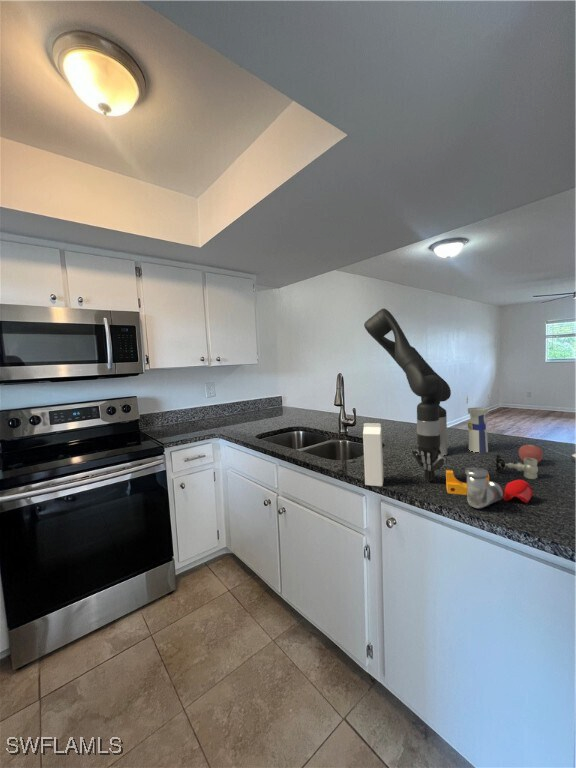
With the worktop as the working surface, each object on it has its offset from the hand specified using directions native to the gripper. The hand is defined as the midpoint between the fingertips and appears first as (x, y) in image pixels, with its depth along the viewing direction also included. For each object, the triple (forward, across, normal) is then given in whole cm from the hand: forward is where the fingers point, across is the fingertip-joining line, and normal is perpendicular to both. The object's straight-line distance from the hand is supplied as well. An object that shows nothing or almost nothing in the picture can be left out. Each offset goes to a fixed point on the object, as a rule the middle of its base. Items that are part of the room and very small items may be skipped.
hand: (429, 479), depth 111 cm
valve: (+1, +14, +29) cm, 32 cm away
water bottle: (+1, -9, +47) cm, 48 cm away
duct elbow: (+1, +20, -3) cm, 20 cm away
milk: (+1, -12, -15) cm, 19 cm away
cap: (+1, +24, +9) cm, 25 cm away
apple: (+1, +12, +45) cm, 47 cm away
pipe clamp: (+1, +12, +2) cm, 12 cm away
